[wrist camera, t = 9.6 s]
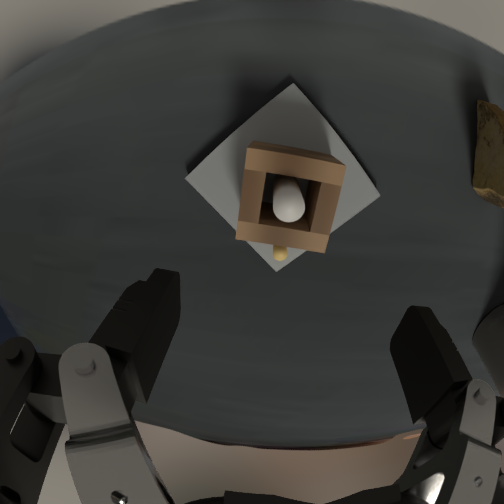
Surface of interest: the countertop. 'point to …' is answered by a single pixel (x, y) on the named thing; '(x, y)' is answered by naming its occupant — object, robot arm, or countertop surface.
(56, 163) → the countertop surface
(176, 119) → the countertop surface
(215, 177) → the post board
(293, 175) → the wooden square frame
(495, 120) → the rock
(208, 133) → the countertop surface
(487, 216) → the countertop surface
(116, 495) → the robot arm
